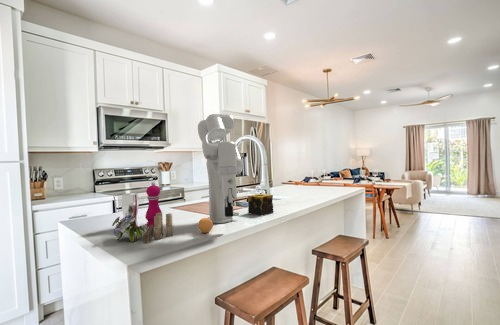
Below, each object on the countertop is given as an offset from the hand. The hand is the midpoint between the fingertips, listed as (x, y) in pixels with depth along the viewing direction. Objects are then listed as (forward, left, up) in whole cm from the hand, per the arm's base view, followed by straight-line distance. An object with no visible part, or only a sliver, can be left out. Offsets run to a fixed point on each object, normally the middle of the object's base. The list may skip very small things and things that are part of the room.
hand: (229, 216), depth 107 cm
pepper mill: (+32, -21, -6) cm, 38 cm away
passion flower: (+38, -1, -7) cm, 39 cm away
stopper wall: (+31, -1, -6) cm, 32 cm away
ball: (+10, -1, -3) cm, 10 cm away
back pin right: (+28, -4, -6) cm, 29 cm away
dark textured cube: (-22, -32, -7) cm, 39 cm away
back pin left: (+28, +2, -6) cm, 28 cm away
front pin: (+24, -1, -6) cm, 24 cm away
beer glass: (+42, -21, -6) cm, 47 cm away
